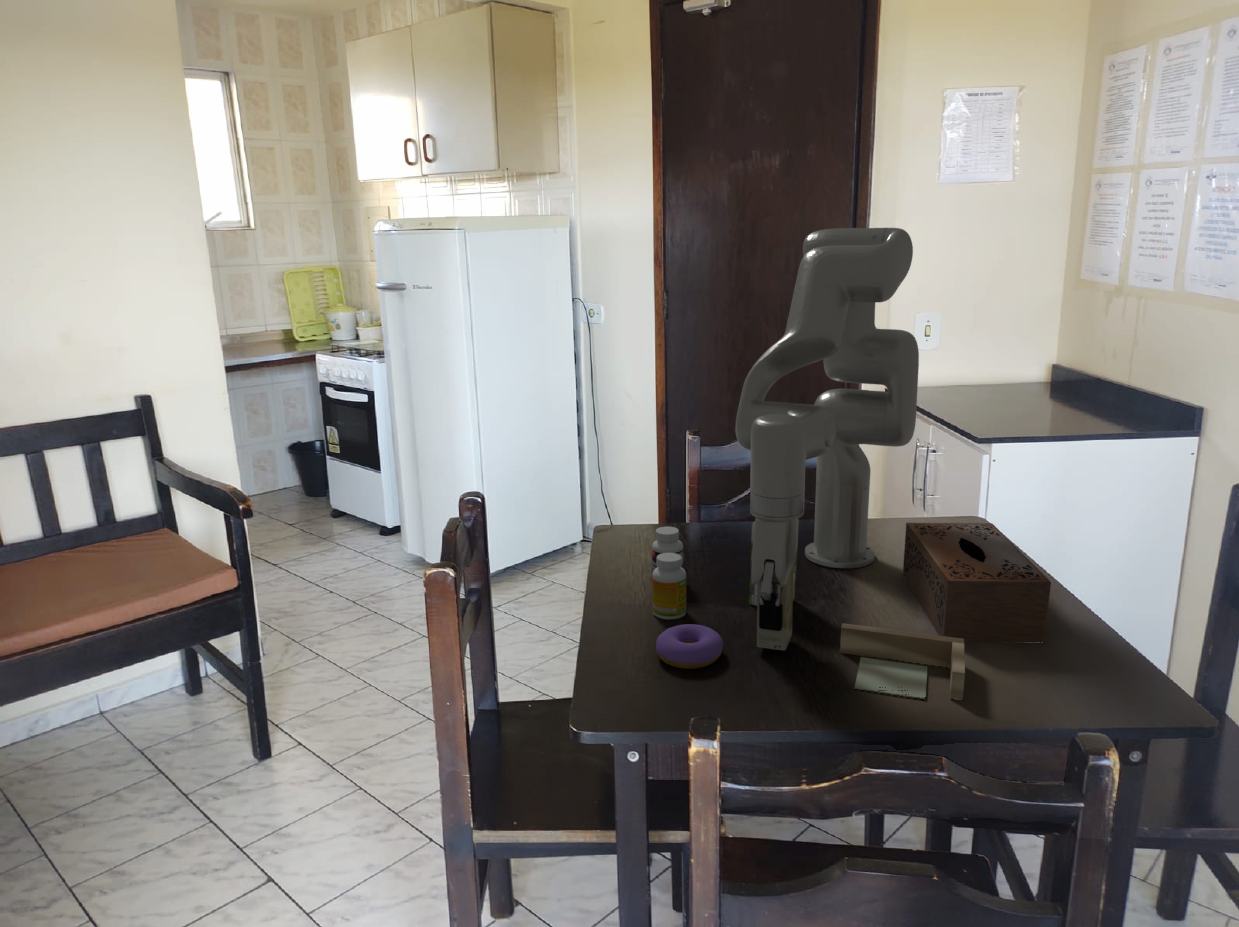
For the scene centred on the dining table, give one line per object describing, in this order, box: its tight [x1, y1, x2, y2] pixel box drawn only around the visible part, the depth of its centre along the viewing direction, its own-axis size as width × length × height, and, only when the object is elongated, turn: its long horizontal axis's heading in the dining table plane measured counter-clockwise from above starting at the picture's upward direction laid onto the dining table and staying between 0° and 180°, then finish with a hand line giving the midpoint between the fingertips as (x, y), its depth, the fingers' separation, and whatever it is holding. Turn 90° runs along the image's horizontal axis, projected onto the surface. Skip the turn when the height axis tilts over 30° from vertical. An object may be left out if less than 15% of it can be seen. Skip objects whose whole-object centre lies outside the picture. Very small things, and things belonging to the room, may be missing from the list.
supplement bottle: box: [651, 553, 687, 620], centre depth 140 cm, size 5×5×10 cm
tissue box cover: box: [902, 522, 1052, 644], centre depth 140 cm, size 26×14×10 cm, turn 175°
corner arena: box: [839, 622, 966, 700], centre depth 120 cm, size 12×16×4 cm
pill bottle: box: [651, 526, 684, 576], centre depth 152 cm, size 5×5×10 cm
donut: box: [655, 623, 724, 670], centre depth 127 cm, size 10×9×5 cm
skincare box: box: [756, 565, 794, 651], centre depth 128 cm, size 6×4×12 cm
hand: (775, 617), depth 128 cm, fingers closed on skincare box, 6 cm apart
